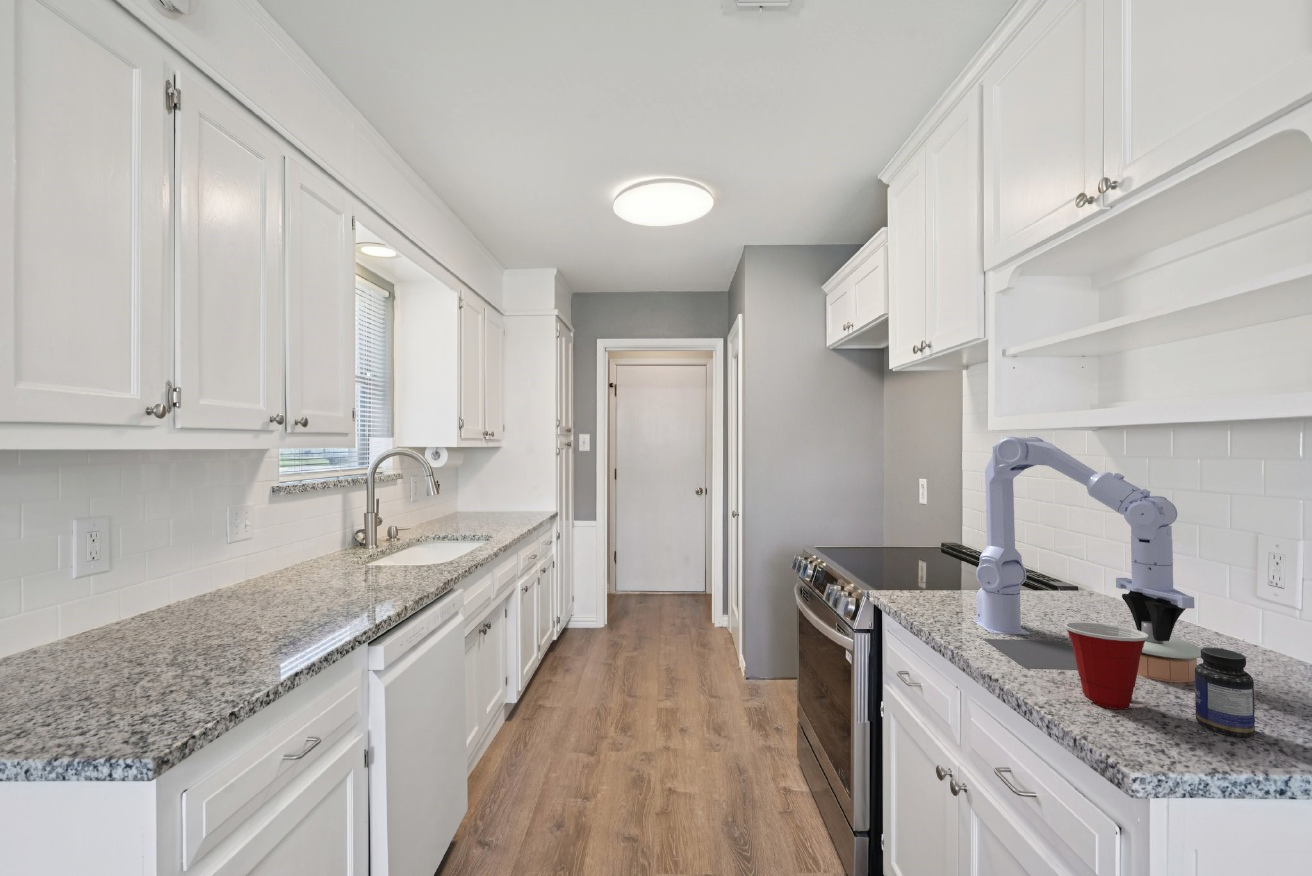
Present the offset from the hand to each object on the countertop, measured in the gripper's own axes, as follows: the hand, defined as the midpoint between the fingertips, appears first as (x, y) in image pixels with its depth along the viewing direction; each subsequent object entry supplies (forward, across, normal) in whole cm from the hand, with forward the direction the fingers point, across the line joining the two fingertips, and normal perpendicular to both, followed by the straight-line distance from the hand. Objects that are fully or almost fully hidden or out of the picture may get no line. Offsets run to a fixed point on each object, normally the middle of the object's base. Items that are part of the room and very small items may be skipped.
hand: (1153, 637), depth 103 cm
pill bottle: (+7, +21, -7) cm, 23 cm away
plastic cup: (+7, +12, -18) cm, 22 cm away
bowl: (+6, 0, 0) cm, 6 cm away
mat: (+6, -8, -15) cm, 18 cm away
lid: (+2, 0, 0) cm, 2 cm away
